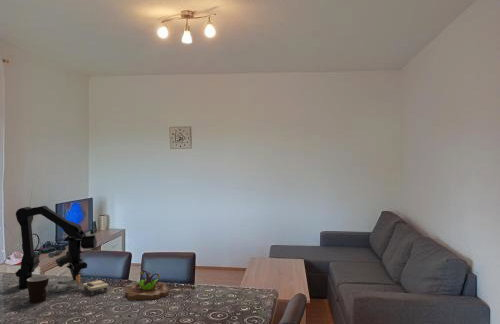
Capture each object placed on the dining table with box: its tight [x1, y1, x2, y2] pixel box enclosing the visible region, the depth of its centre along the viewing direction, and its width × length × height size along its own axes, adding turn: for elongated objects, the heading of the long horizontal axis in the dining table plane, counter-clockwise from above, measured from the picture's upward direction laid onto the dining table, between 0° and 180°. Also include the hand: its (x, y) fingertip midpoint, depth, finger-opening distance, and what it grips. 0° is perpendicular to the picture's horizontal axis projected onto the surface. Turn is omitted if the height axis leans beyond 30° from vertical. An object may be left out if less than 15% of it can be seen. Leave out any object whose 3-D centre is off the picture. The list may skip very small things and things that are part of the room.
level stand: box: [69, 279, 109, 296], centre depth 176 cm, size 15×13×5 cm
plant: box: [125, 270, 170, 301], centre depth 174 cm, size 20×20×11 cm
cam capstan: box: [52, 274, 81, 293], centre depth 179 cm, size 12×6×5 cm, turn 135°
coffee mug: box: [27, 275, 50, 304], centre depth 165 cm, size 12×9×10 cm
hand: (74, 279), depth 186 cm, fingers closed
